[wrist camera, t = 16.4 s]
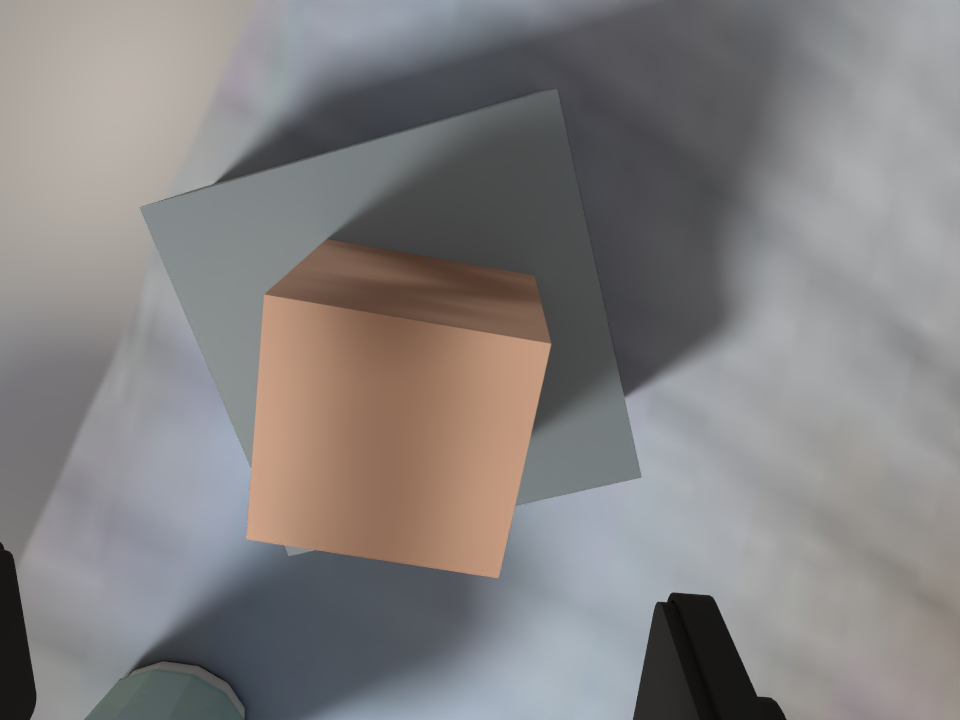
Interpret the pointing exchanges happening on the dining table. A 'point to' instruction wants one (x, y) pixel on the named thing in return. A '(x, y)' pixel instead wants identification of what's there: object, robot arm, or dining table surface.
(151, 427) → the dining table surface
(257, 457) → the terracotta cube
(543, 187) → the slate box
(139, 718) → the disposable coffee cup
